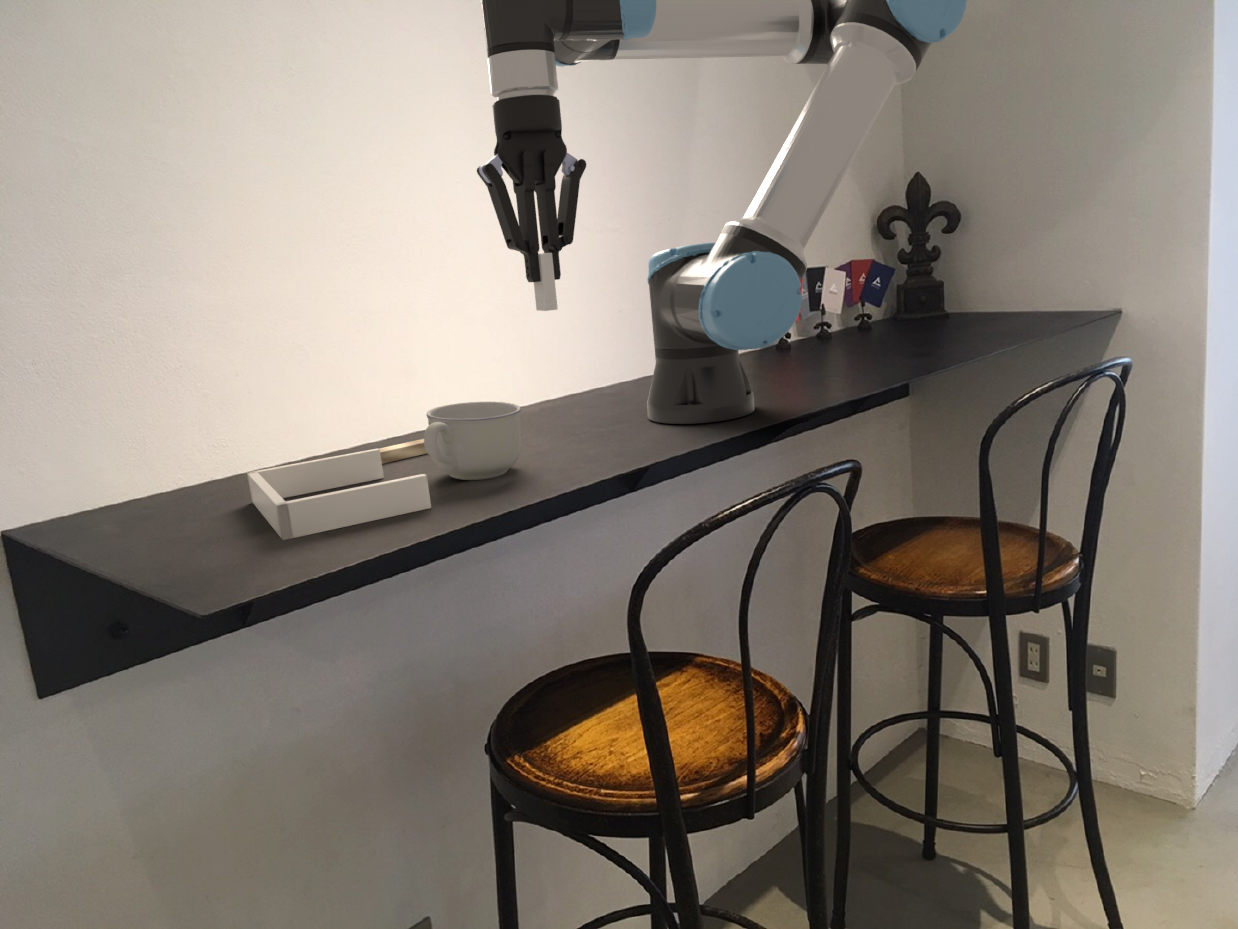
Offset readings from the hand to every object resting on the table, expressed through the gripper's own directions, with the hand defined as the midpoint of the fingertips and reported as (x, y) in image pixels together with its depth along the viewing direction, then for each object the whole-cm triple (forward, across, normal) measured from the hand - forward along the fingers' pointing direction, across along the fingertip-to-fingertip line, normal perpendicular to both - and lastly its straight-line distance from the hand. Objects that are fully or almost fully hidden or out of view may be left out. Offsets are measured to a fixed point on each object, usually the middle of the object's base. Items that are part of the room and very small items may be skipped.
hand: (547, 309), depth 114 cm
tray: (+18, +27, 0) cm, 33 cm away
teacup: (+18, +12, 0) cm, 22 cm away
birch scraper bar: (+18, +15, -18) cm, 30 cm away
